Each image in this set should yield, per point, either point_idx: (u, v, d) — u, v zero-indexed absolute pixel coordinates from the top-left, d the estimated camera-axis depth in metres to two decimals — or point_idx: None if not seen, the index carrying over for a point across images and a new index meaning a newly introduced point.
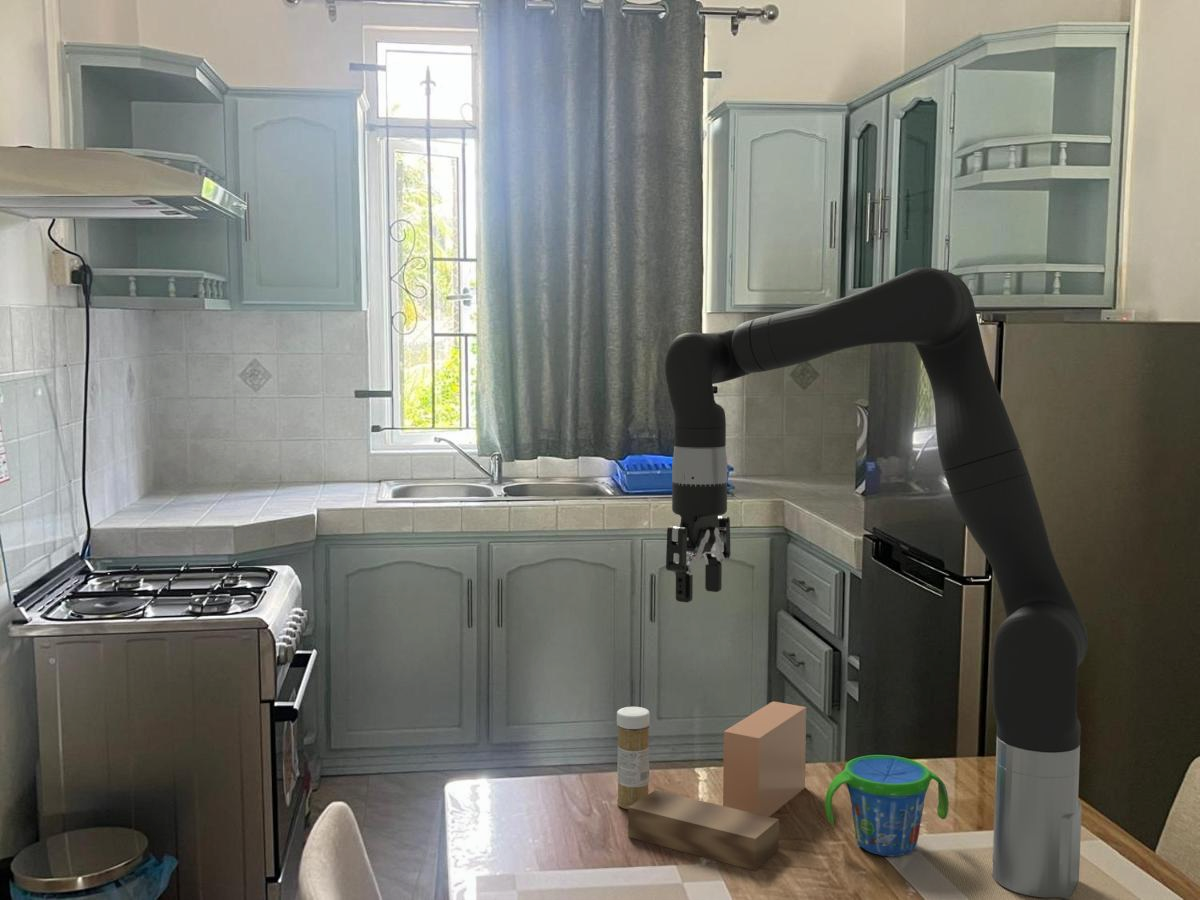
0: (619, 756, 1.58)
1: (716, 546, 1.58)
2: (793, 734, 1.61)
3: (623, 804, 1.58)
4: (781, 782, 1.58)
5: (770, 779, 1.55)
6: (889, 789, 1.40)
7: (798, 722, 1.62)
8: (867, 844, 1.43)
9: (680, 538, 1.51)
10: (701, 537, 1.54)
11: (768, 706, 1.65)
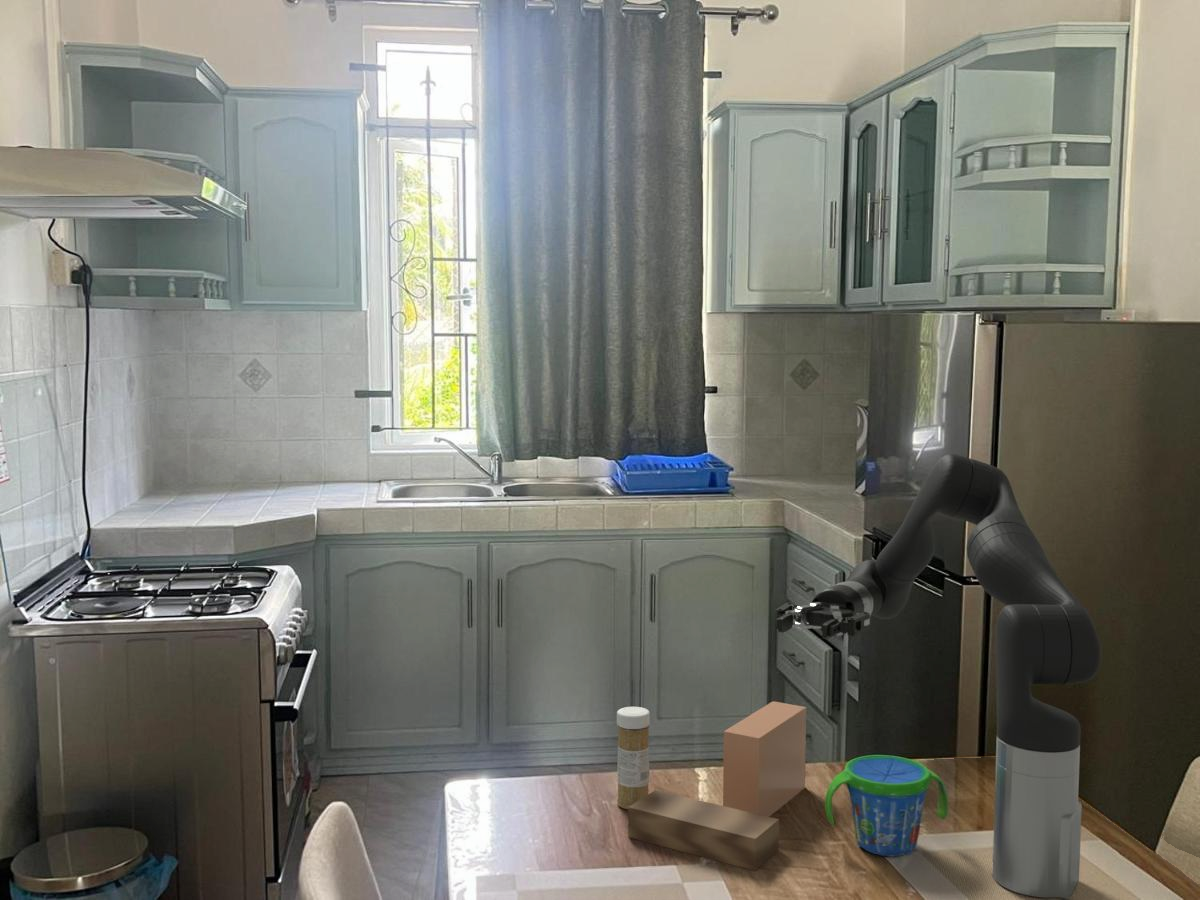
0: (619, 756, 1.58)
1: (831, 611, 1.74)
2: (793, 734, 1.61)
3: (623, 804, 1.58)
4: (781, 782, 1.58)
5: (770, 779, 1.55)
6: (889, 789, 1.40)
7: (798, 722, 1.62)
8: (867, 844, 1.43)
9: None
10: (810, 605, 1.78)
11: (768, 706, 1.65)
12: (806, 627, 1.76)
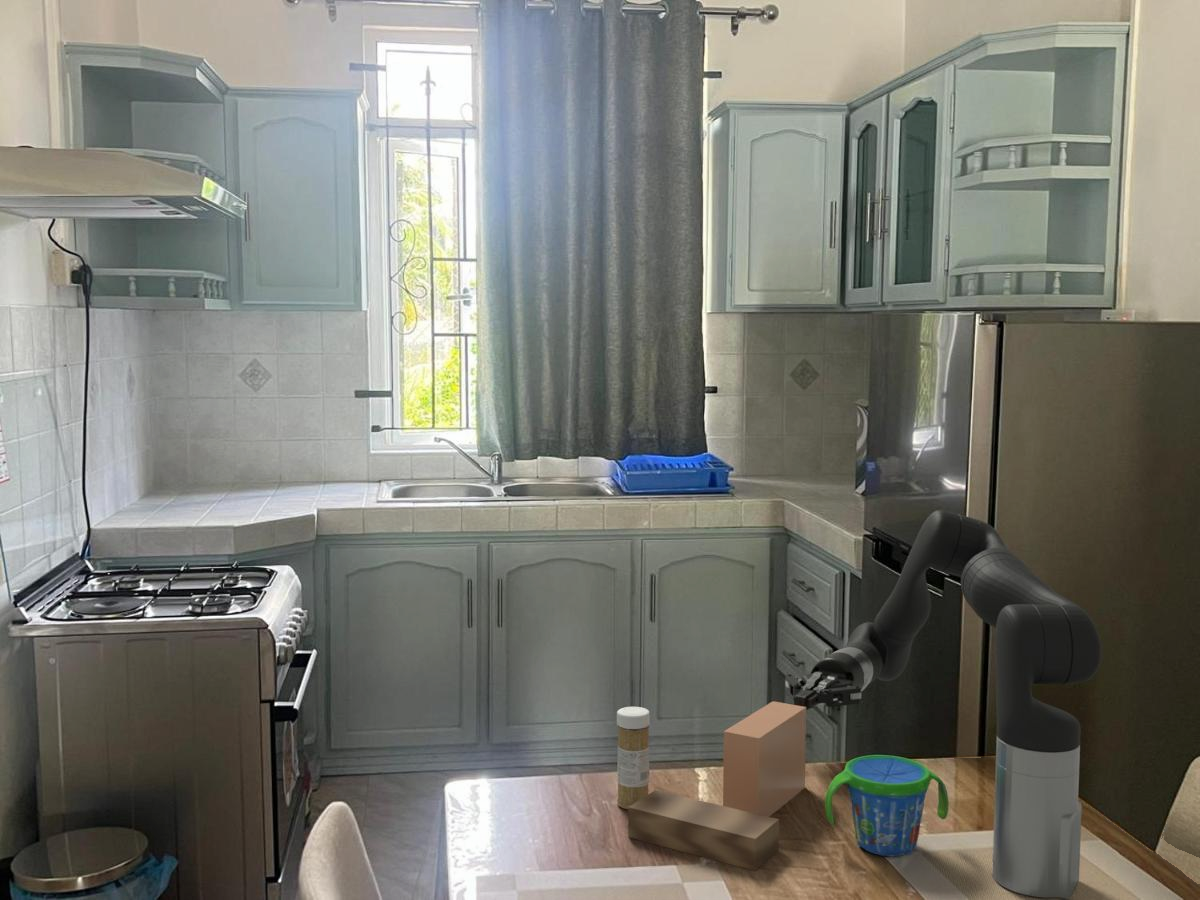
0: (619, 756, 1.58)
1: None
2: (793, 734, 1.61)
3: (623, 804, 1.58)
4: (781, 782, 1.58)
5: (770, 779, 1.55)
6: (889, 789, 1.40)
7: (798, 722, 1.62)
8: (867, 844, 1.43)
9: (787, 679, 1.79)
10: (812, 676, 1.78)
11: (768, 706, 1.65)
12: None
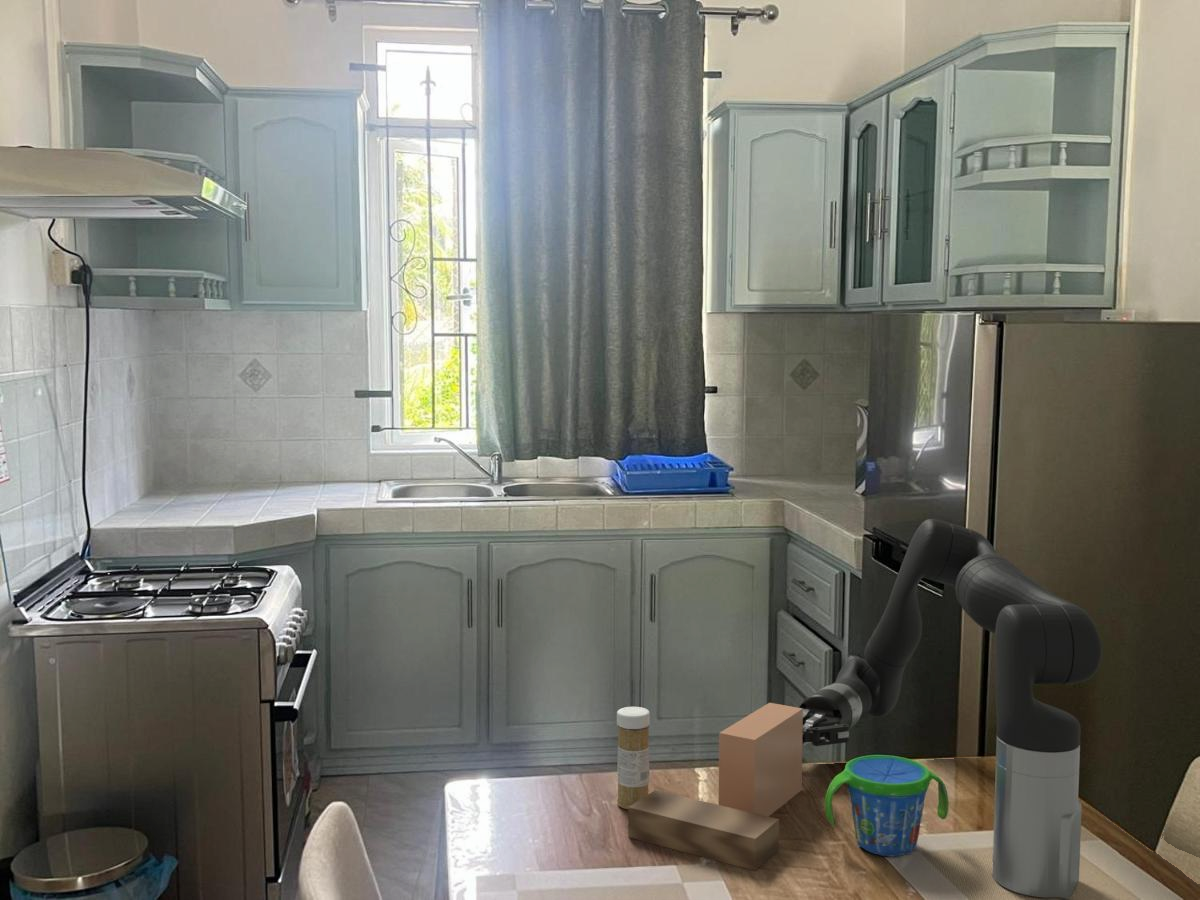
0: (619, 756, 1.58)
1: None
2: (789, 736, 1.60)
3: (623, 804, 1.58)
4: (777, 784, 1.57)
5: (765, 781, 1.54)
6: (889, 789, 1.40)
7: (794, 723, 1.61)
8: (867, 844, 1.43)
9: None
10: None
11: (764, 707, 1.64)
12: None
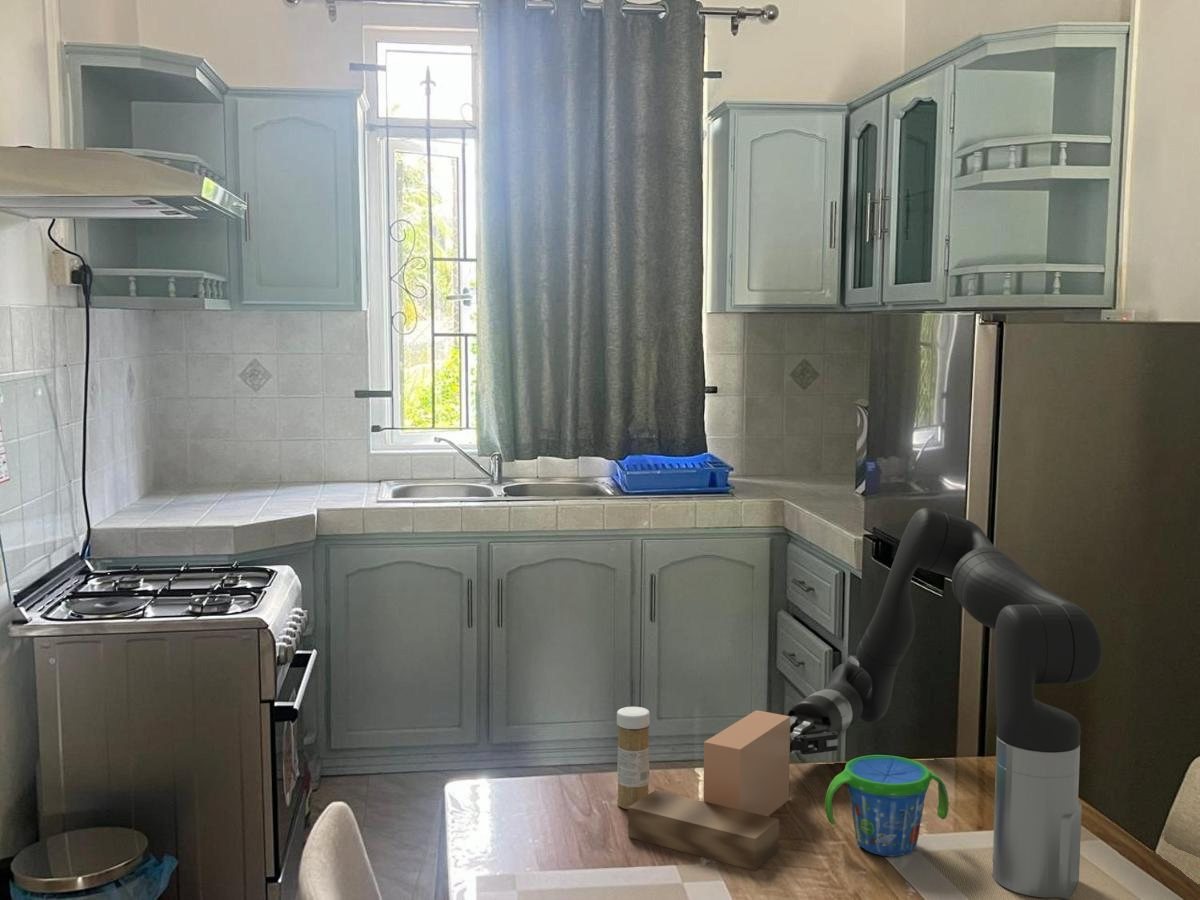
0: (619, 756, 1.58)
1: None
2: (776, 744, 1.57)
3: (623, 804, 1.58)
4: (763, 793, 1.54)
5: (751, 791, 1.50)
6: (889, 789, 1.40)
7: (781, 732, 1.58)
8: (867, 844, 1.43)
9: None
10: None
11: (751, 715, 1.60)
12: None
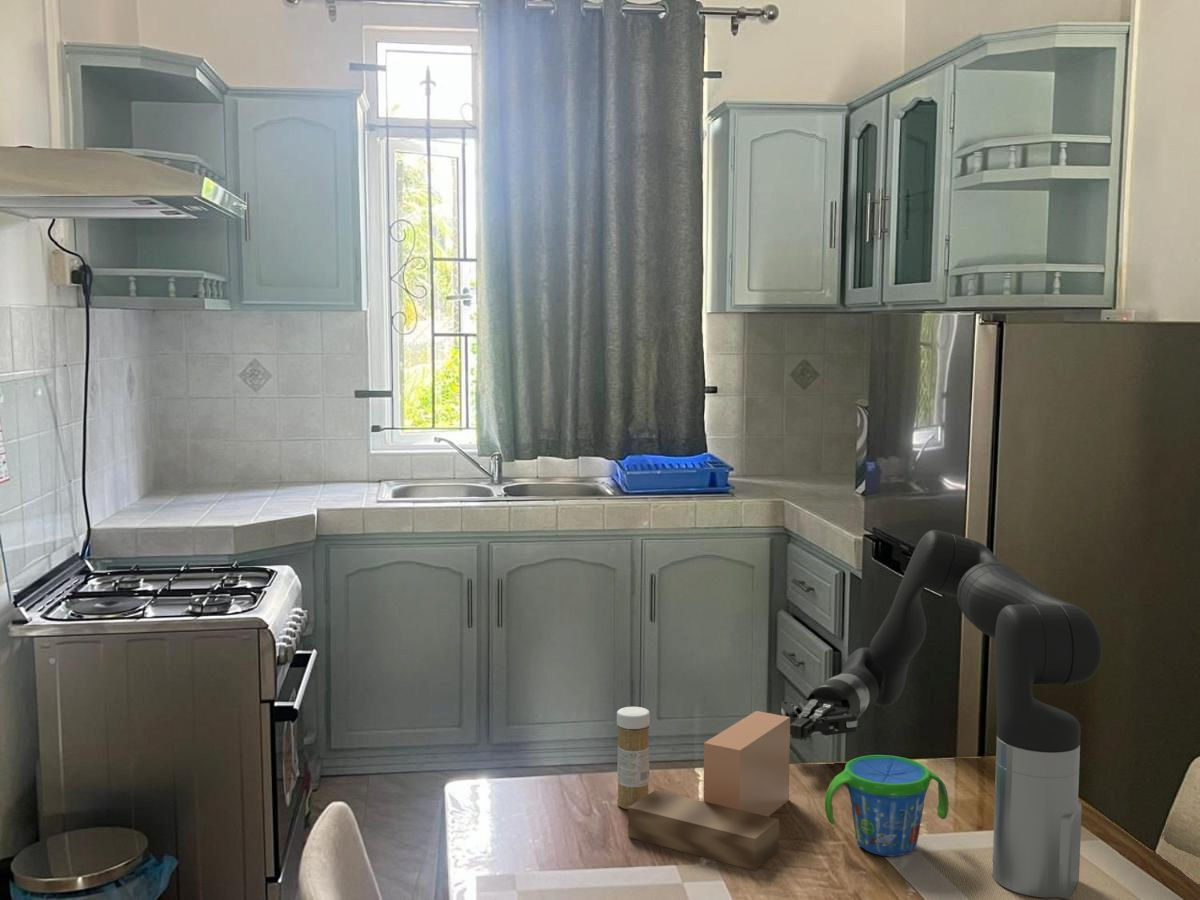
0: (619, 756, 1.58)
1: None
2: (776, 745, 1.57)
3: (623, 804, 1.58)
4: (763, 794, 1.54)
5: (751, 792, 1.50)
6: (889, 789, 1.40)
7: (781, 733, 1.58)
8: (867, 844, 1.43)
9: (783, 706, 1.79)
10: (808, 704, 1.78)
11: (751, 716, 1.60)
12: None
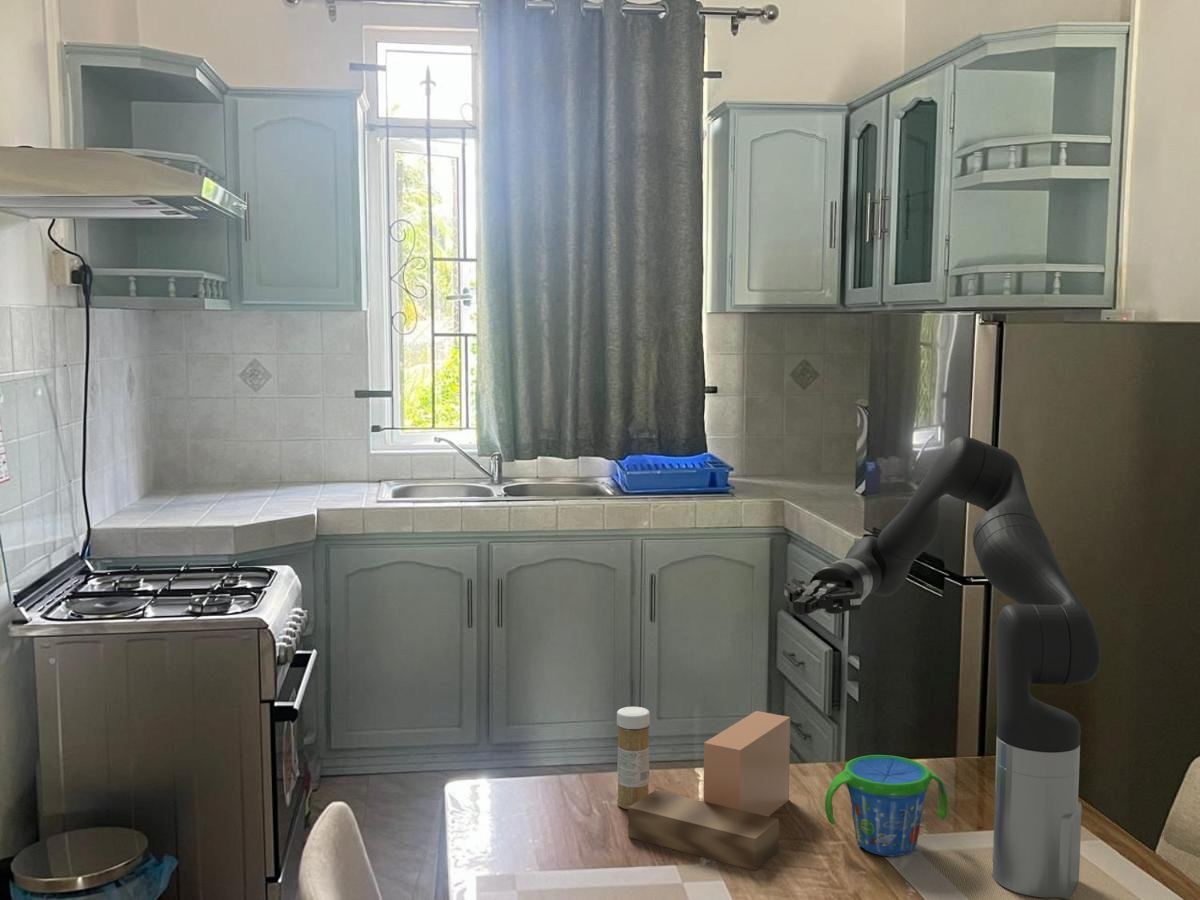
0: (619, 756, 1.58)
1: None
2: (776, 745, 1.57)
3: (623, 804, 1.58)
4: (763, 794, 1.54)
5: (751, 792, 1.50)
6: (889, 789, 1.40)
7: (781, 732, 1.58)
8: (867, 844, 1.43)
9: (786, 587, 1.77)
10: (812, 584, 1.76)
11: (751, 716, 1.60)
12: None
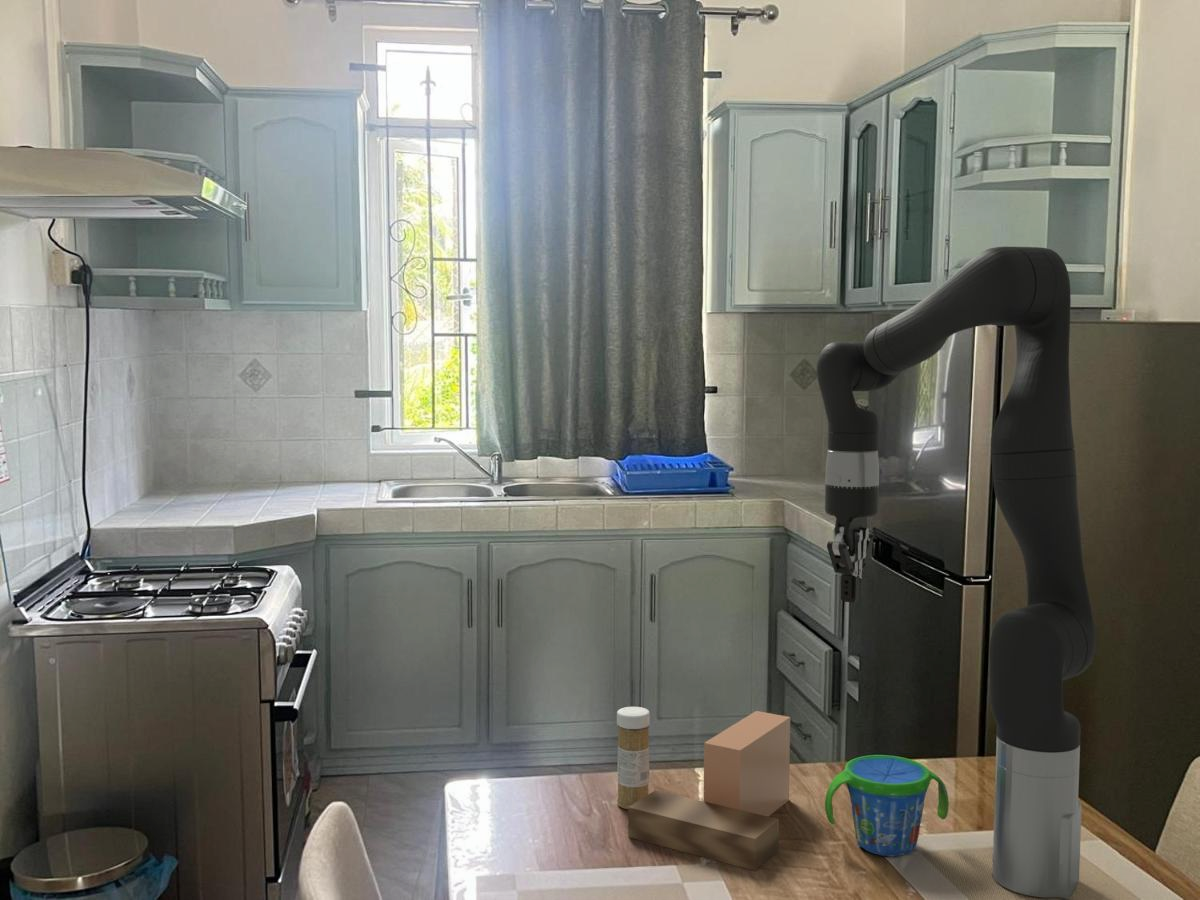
0: (619, 756, 1.58)
1: (862, 548, 1.64)
2: (776, 745, 1.57)
3: (623, 804, 1.58)
4: (763, 794, 1.54)
5: (751, 792, 1.50)
6: (889, 789, 1.40)
7: (781, 733, 1.58)
8: (867, 844, 1.43)
9: (842, 554, 1.60)
10: (856, 541, 1.62)
11: (751, 716, 1.60)
12: None
